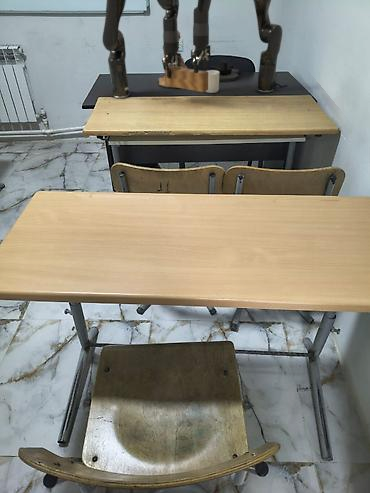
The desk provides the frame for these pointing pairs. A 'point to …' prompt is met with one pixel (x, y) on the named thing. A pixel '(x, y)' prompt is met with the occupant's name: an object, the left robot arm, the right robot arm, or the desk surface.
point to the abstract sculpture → (226, 71)
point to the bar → (187, 79)
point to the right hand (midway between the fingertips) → (200, 70)
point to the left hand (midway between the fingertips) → (172, 76)
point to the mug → (213, 81)
